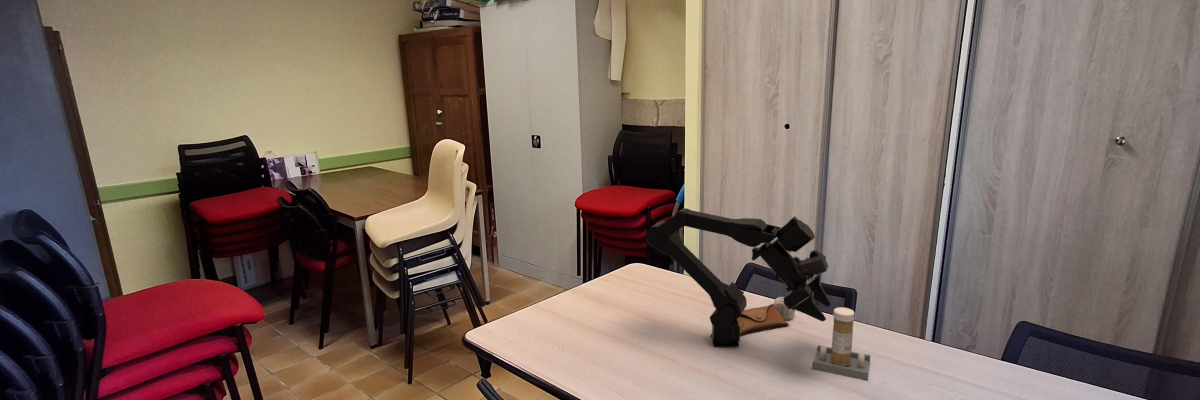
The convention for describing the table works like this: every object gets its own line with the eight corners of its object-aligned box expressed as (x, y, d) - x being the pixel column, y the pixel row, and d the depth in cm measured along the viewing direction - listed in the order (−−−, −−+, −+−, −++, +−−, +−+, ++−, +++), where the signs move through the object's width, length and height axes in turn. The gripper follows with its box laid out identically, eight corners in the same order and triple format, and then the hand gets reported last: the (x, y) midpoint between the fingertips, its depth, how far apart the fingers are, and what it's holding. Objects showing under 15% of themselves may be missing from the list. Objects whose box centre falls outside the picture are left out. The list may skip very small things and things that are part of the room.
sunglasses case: (737, 336, 151) (730, 311, 152) (724, 339, 157) (717, 315, 159) (791, 323, 157) (784, 300, 159) (777, 327, 163) (770, 304, 165)
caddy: (812, 368, 135) (812, 354, 134) (817, 351, 143) (818, 337, 142) (867, 380, 129) (868, 365, 128) (869, 361, 137) (871, 347, 136)
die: (772, 317, 163) (772, 301, 161) (778, 311, 166) (778, 295, 165) (789, 321, 160) (790, 305, 158) (795, 315, 164) (796, 298, 162)
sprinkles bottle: (844, 357, 138) (848, 306, 135) (854, 366, 134) (858, 313, 131) (826, 358, 138) (830, 307, 135) (835, 367, 133) (839, 315, 130)
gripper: (801, 254, 125) (851, 309, 123) (813, 233, 141) (858, 281, 139) (763, 282, 131) (810, 335, 128) (779, 258, 147) (822, 305, 144)
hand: (827, 312), depth 135 cm, fingers open, 9 cm apart
